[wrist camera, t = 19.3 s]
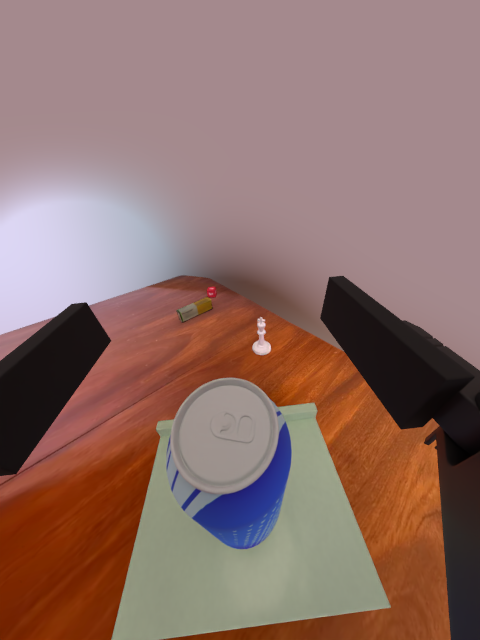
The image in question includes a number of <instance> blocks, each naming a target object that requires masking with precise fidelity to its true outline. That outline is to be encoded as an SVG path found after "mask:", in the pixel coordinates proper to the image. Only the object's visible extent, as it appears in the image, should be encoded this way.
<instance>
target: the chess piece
mask: <svg viewBox="0 0 480 640" xmlns="http://www.w3.org/2000/svg"><path fill="white" fill-rule="evenodd" d="M258 321H259V323H258V324H257V326H258V328H259V330H258V331H257V333H258V334H259V341H256V342H255V343H254V344H253V347H252V350H253V351H254V353H256V354H258V355H265V354H268V353H269V352H270V351H271V345H270V343H269V342H267V341H264V334H265V333H266V331H265V330H264V328H265V325H266V324H265V323H264V322H265V320H264V319H262V317H260V319H258Z"/></svg>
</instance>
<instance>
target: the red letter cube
mask: <svg viewBox="0 0 480 640" xmlns="http://www.w3.org/2000/svg"><path fill="white" fill-rule="evenodd" d="M207 294H208V297H216V294H217V292H216V287H208V289H207Z"/></svg>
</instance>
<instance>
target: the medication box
mask: <svg viewBox="0 0 480 640" xmlns="http://www.w3.org/2000/svg"><path fill="white" fill-rule="evenodd" d="M212 308H213V307H212V303H211V299H210V298H208V297H206V298H204V299H201V300H199V301H197V302H194V303H192V304H190V305H187V306H185V307H183V308H180V309H178V310H176V311H177V314H178V317H179V320H180V321H181V322H184V321H186V320H188V319H190V318H193V317H195V316H197V315H199V314H201V313H203V312H206V311H208V310H210V309H212Z"/></svg>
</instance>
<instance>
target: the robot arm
mask: <svg viewBox="0 0 480 640" xmlns="http://www.w3.org/2000/svg"><path fill="white" fill-rule="evenodd" d="M321 320H322V321H323V323H324V324H325V325H326V327H327V328H328V330H329V331H330V332H331V334H332V335H333V336H334V338H335V339H336V341H337V342H338V343H339V345H340V346H341V347H342V349H343V350H344V352H345V353H346V354H347V356H348V357H349V358H350V360H351V361H352V363H353V364H354V365H355V367H356V368H357V369H358V371H359V372H360V374H361V375H362V376H363V378H364V379H365V380H366V382H367V383H368V385H369V386H370V387H371V389H372V390H373V391H374V393H375V394H376V396H377V397H378V398H379V400H380V401H381V402H382V404H383V405H384V407H385V408H386V409H387V411H388V412H389V413H390V415H391V416H392V418H393V419H394V420H395V422H396V423H397V425H398V426H399V427H400V429H409V428H417V427H423V426H424V425H425V424H426V423H427V422H428V421H429V420H431V419H432V418H433V419H434V420H435V421H436V422H437V423H438V424H439V425H440V426H439V427H438V428H437V429H436V430H435V431H433V432H432V433H431V434H430V435H429V436H428V437H426V439H425V442H424V443H425V444H427V445H429V444H431V443H432V442H433V441H434V440H436V442H437V446H436V447H435V449H437V455H438V469H439V483H440V496H441V510H442V523H443V537H444V551H445V564H446V578H447V591H448V605H449V619H450V632H451V640H480V371H479V370H478V369H476V368H475V367H474V366H472V365H471V364H470V363H468V362H467V361H466V360H464V359H463V358H462V357H460V356H459V355H457V354H456V353H455V352H453V351H452V350H450V349H449V348H448V347H446V346H443V344H442V343H441V342H439V341H438V340H437V339H435V338H434V339H433V337H432V336H431V335H430V334H428V333H427V332H426V331H424V330H423V329H422V328H420V327H418V326H415V325H414V324H411V323H409V322H407V321H402V320H400V319H399V318H398V317H396V316H395V315H394V314H392V313H391V312H390V311H389V310H387V309H386V308H385V307H383V306H382V305H380V304H379V303H378V302H377V301H375V300H374V299H373V298H372V297H370V296H369V295H368V294H366V293H365V292H363V291H362V290H361V289H360V288H358V287H357V286H356V285H354V284H353V283H352V282H350V281H349V280H348V279H347V278H345V277H344V276H337V277H329V281H328V285H327V290H326V295H325V299H324V304H323V308H322V313H321ZM110 342H111V340H110V338H109V337H108V335H107V333H106V332H105V330H104V329H103V327H102V326H101V324H100V323H99V321H98V320H97V318H96V316H95V315H94V313H93V312H92V310H91V309H90V307H89V306H88V304H87V303H78V304H71V305H70V306H69V307H68V308H67V309H65V310H64V311H63V312H61V313H60V314H59V315H58V316H56V317H55V318H54V319H52V320H51V321H50V322H49V323H47V324H46V325H45V326H44V327H42V328H41V329H40V330H39V331H37V332H36V333H35V334H34V335H32V336H31V337H30V338H29V339H27V340H26V341H25V342H24V343H22V344H21V345H20V346H18V347H17V348H16V349H15V350H13V351H12V352H11V353H10V354H8V355H7V356H6V357H5V358H3V359H2V360H1V361H0V476H4V475H13V474H17V472H18V471H19V469H20V468H21V467H22V465H23V464H24V462H25V461H26V460H27V458H28V457H29V455H30V454H31V453H32V451H33V450H34V448H35V447H36V446H37V444H38V443H39V441H40V440H41V438H42V437H43V436H44V434H45V433H46V431H47V430H48V429H49V427H50V426H51V424H52V423H53V422H54V420H55V419H56V417H57V416H58V415H59V413H60V412H61V410H62V409H63V408H64V406H65V405H66V403H67V402H68V401H69V399H70V398H71V396H72V395H73V394H74V392H75V391H76V389H77V388H78V387H79V385H80V384H81V382H82V381H83V380H84V378H85V377H86V375H87V374H88V373H89V371H90V370H91V368H92V367H93V366H94V364H95V363H96V361H97V360H98V359H99V357H100V356H101V354H102V353H103V352H104V350H105V349H106V347H107V346H108V345H109V343H110Z"/></svg>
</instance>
